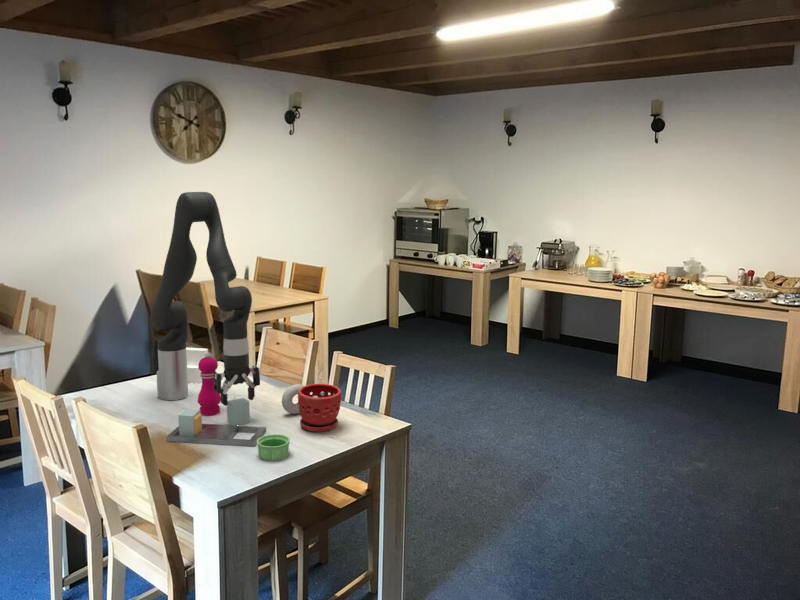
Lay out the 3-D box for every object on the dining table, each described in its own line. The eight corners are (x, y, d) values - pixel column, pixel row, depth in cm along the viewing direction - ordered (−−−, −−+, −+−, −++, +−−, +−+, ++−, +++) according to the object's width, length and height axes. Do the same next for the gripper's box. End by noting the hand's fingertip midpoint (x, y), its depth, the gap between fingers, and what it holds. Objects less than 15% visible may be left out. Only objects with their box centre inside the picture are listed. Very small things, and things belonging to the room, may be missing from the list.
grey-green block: (226, 421, 205) (225, 400, 203) (242, 418, 208) (242, 397, 207) (233, 426, 201) (232, 404, 199) (249, 422, 204) (249, 401, 203)
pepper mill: (214, 417, 208) (212, 356, 205) (194, 415, 210) (191, 354, 206) (225, 409, 215) (223, 350, 211) (205, 407, 217) (202, 349, 213)
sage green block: (179, 438, 191) (178, 415, 190) (187, 431, 196) (186, 408, 195) (195, 439, 191) (194, 416, 189) (203, 432, 196) (202, 409, 195)
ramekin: (260, 464, 175) (260, 448, 174) (254, 451, 183) (253, 436, 183) (293, 459, 179) (293, 443, 178) (285, 446, 187) (285, 432, 186)
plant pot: (290, 431, 198) (289, 393, 196) (311, 416, 210) (311, 381, 208) (328, 437, 193) (328, 399, 191) (348, 423, 205) (348, 386, 203)
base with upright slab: (179, 382, 242) (178, 351, 240) (191, 375, 251) (189, 345, 248) (202, 384, 240) (201, 352, 238) (213, 377, 249) (212, 346, 247)
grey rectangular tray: (166, 441, 189) (166, 436, 188) (183, 427, 199) (182, 422, 199) (254, 446, 186) (254, 441, 186) (266, 431, 197) (265, 427, 197)
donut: (284, 418, 208) (284, 388, 206) (280, 415, 211) (279, 385, 209) (312, 412, 214) (312, 383, 212) (307, 409, 217) (307, 380, 215)
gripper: (251, 345, 207) (253, 394, 210) (208, 352, 199) (211, 403, 201) (263, 350, 202) (264, 400, 204) (219, 357, 193) (221, 410, 196)
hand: (238, 402), depth 203 cm, fingers open, 8 cm apart
